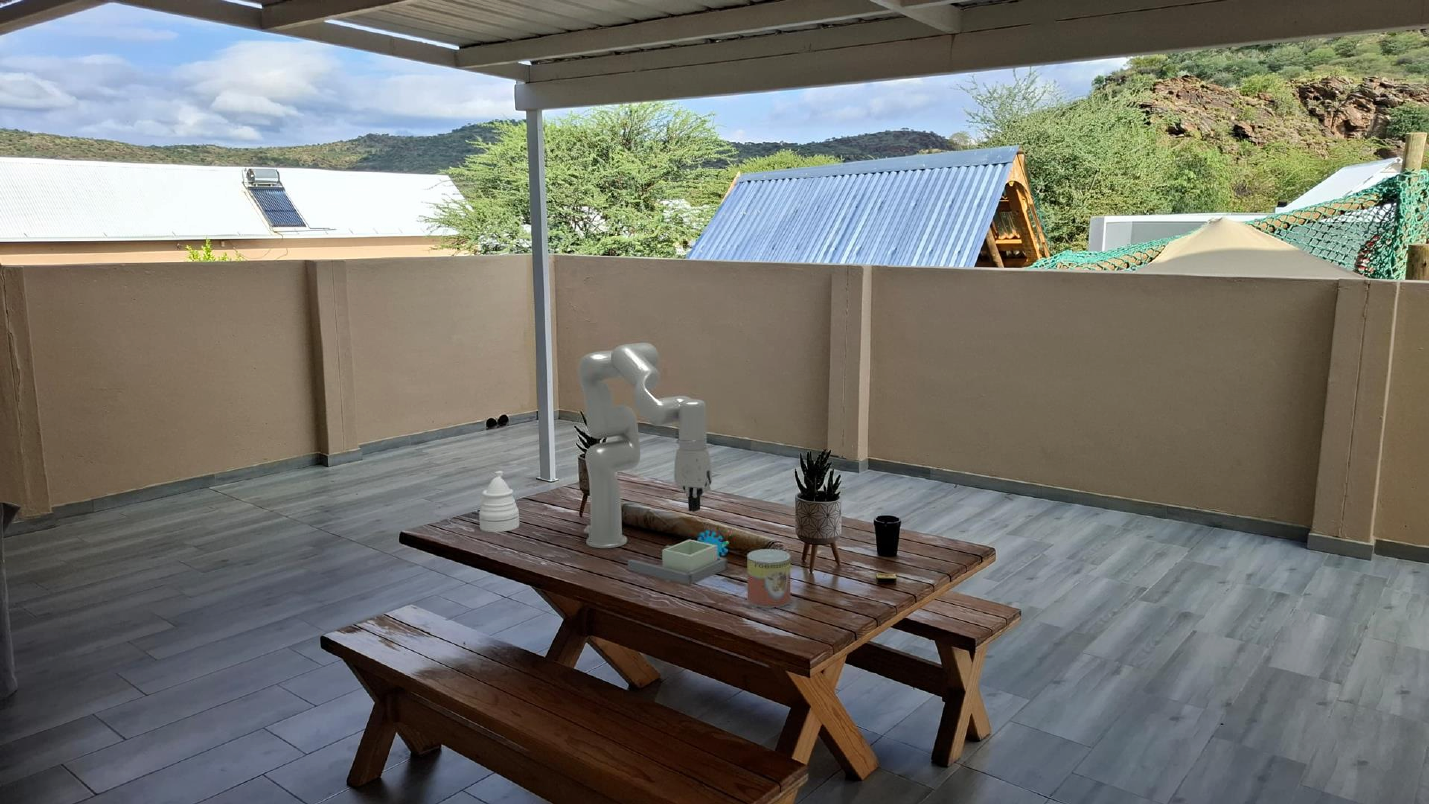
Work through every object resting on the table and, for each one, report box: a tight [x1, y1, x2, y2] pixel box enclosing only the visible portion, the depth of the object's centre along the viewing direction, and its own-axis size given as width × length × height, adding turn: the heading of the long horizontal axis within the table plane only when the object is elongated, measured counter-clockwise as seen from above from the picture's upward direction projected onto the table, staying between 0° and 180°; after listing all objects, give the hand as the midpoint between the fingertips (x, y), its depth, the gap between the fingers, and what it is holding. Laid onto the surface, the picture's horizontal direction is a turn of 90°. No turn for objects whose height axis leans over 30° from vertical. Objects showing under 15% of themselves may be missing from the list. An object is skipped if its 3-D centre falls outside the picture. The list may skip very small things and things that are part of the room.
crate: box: [661, 539, 717, 573], centre depth 273 cm, size 10×12×7 cm
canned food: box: [746, 548, 792, 609], centre depth 254 cm, size 11×11×12 cm
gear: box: [696, 529, 730, 557], centre depth 291 cm, size 11×6×10 cm
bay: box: [627, 544, 729, 586], centre depth 276 cm, size 22×17×4 cm
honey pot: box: [478, 470, 520, 533], centre depth 323 cm, size 13×13×18 cm
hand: (694, 510), depth 270 cm, fingers closed
